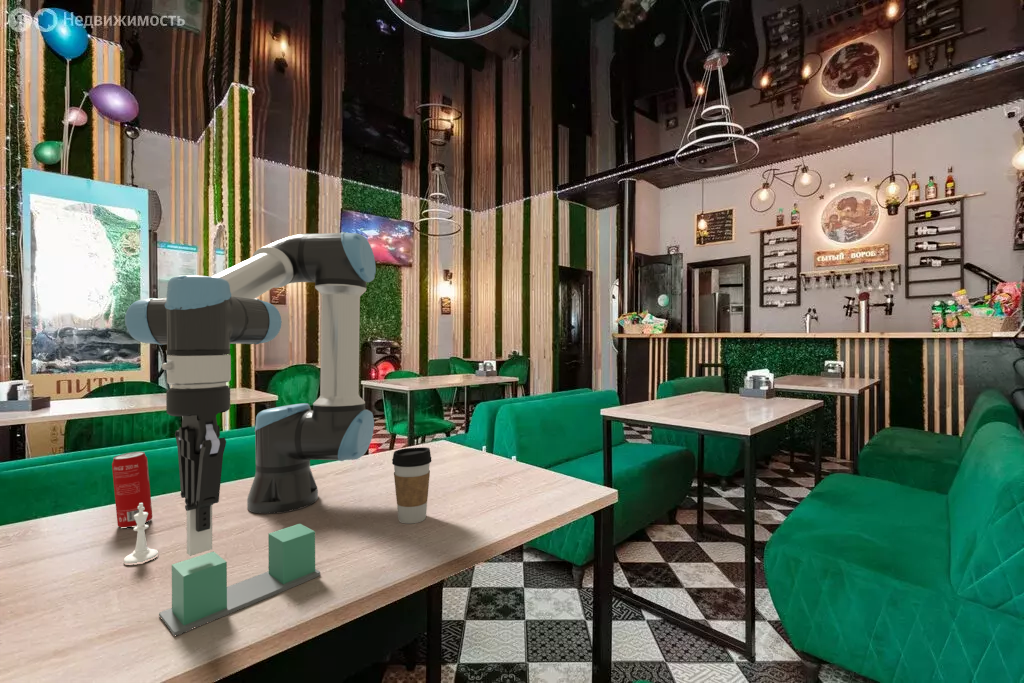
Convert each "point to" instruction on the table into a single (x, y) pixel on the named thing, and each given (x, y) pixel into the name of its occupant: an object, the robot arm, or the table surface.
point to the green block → (199, 587)
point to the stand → (265, 575)
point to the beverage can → (131, 487)
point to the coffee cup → (411, 483)
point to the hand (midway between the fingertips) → (199, 550)
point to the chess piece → (141, 540)
